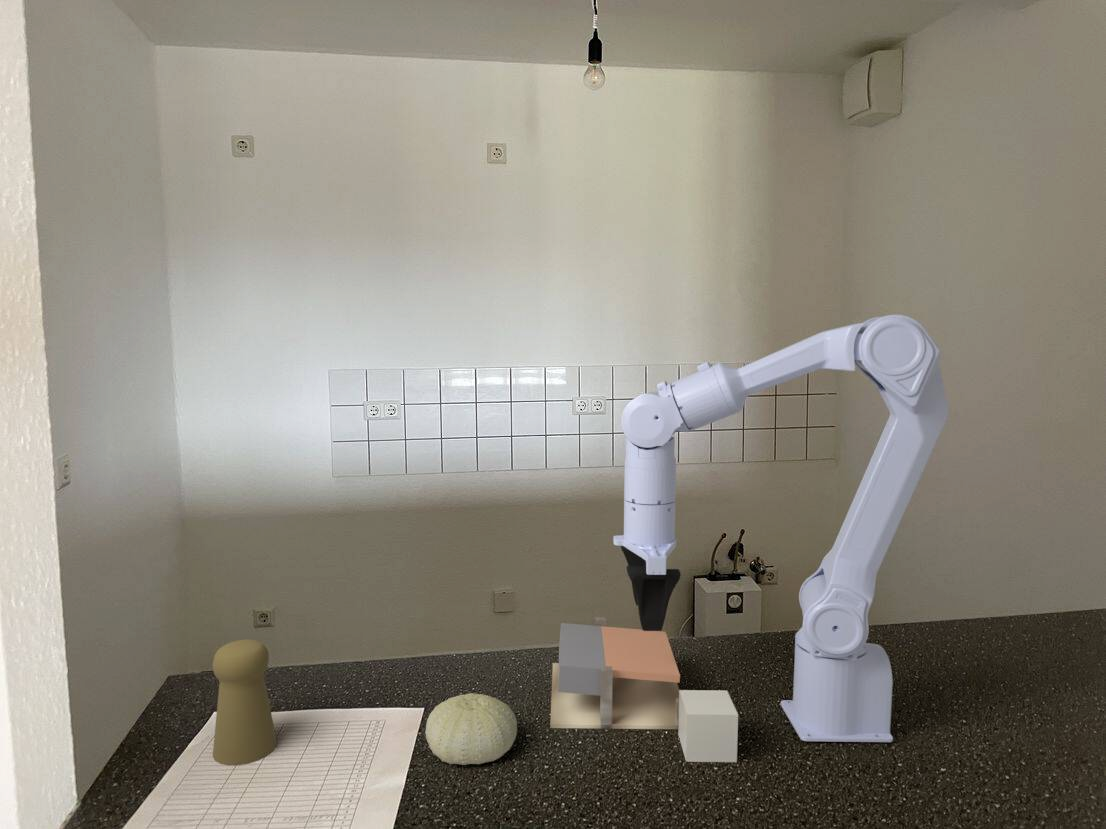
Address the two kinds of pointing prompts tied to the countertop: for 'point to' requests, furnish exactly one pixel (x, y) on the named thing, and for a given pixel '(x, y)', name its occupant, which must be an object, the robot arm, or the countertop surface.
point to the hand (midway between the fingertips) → (647, 616)
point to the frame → (616, 703)
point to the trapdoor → (612, 656)
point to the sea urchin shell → (471, 729)
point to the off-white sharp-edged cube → (708, 726)
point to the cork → (242, 704)
